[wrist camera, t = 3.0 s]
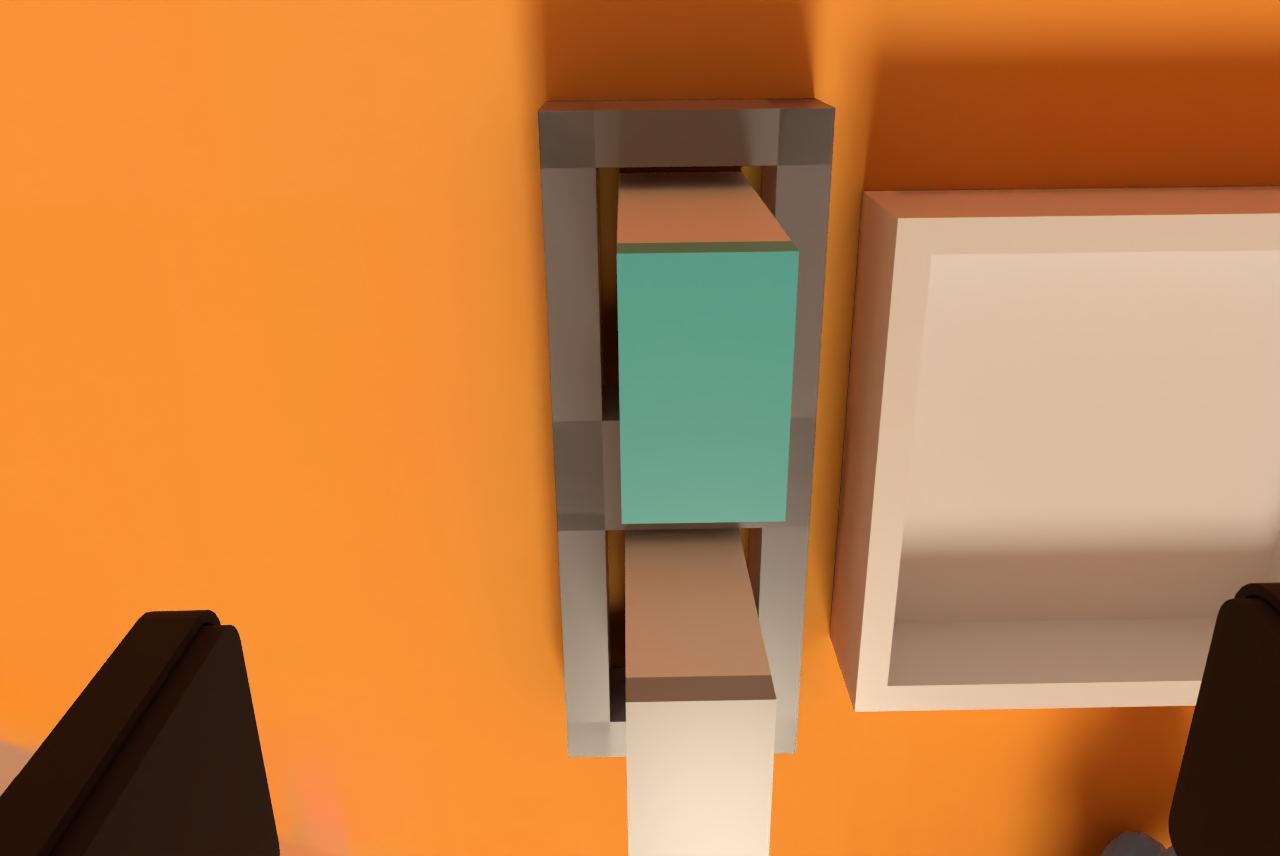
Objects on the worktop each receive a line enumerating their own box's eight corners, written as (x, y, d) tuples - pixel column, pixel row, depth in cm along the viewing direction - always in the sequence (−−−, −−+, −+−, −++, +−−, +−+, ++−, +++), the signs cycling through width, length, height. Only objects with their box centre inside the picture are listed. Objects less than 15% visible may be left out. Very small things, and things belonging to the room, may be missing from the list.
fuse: (624, 502, 28) (625, 702, 20) (731, 500, 28) (776, 699, 20) (627, 652, 30) (628, 891, 22) (728, 650, 30) (767, 887, 22)
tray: (862, 191, 25) (897, 218, 22) (1385, 184, 25) (1498, 210, 22) (829, 635, 30) (854, 711, 27) (1265, 628, 30) (1342, 702, 27)
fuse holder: (546, 101, 24) (538, 110, 22) (814, 98, 24) (835, 107, 22) (572, 701, 31) (568, 757, 28) (782, 697, 31) (795, 753, 28)
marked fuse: (619, 173, 25) (616, 253, 17) (741, 171, 25) (798, 251, 17) (622, 366, 27) (621, 523, 18) (735, 365, 27) (785, 521, 18)
